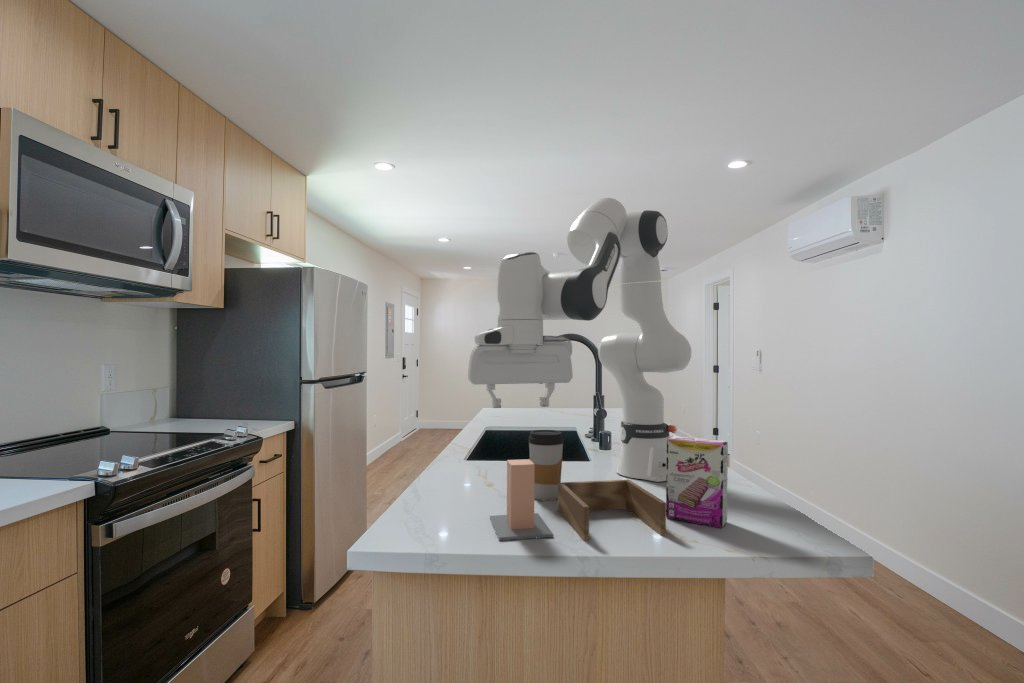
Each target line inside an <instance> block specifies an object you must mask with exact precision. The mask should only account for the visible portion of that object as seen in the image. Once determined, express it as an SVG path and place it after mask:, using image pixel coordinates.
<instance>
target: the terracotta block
mask: <svg viewBox="0 0 1024 683" xmlns="http://www.w3.org/2000/svg"><path fill="white" fill-rule="evenodd" d="M534 471H535V464H534V463H533V462H532V461H531V460H530V458H528V459H525V458H524V459H506V515H507V523H508V525H509V527H510V528H511V529H523V528H534V513H535V498H534Z"/></svg>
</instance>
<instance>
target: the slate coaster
mask: <svg viewBox="0 0 1024 683" xmlns="http://www.w3.org/2000/svg"><path fill="white" fill-rule="evenodd" d="M489 520H491V521H490V522H492V523H491V525H492V528H493V529H495V530H494V532H495V531H496V532H495V534H496V537H497V536H498V537H497V539H498V541H499V540H503V541H512V540H511V539H518V540H526V539H525V538H534V539H543V537H549V538H554V533H553V532H552V530H551V529H550V528H549V526H548V525H547V523H546V522H545V521H544V519H542V517H541V516H540V514H539V513H538V512H534V528H523V529H511V528H510V527H509V525H508V523H507V514H499V515H489ZM536 537H537V538H536ZM541 537H542V538H541Z"/></svg>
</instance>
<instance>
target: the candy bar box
mask: <svg viewBox="0 0 1024 683" xmlns="http://www.w3.org/2000/svg"><path fill="white" fill-rule="evenodd" d="M728 453H729V443H728V441H726V440H718V439H709V438H701V437H700V438H699V437H690V436H683V435H672V436H670V438H668V439H667V476H666V481H665V483H666V486H665V487H666V488H665V489H666V490H665V493H666V494H665V498H666V499H665V502H666V519H667V518H668V519H670V520H671V519H672V520H677V521H683V522H688V523H693V524H697V525H703V526H708V527H714V528H718V529H719V528H721V529H723V528H724V526H725V525H726V523H727V522H728V467H729V466H728V464H729V463H728V462H729V461H728V460H729V458H728V457H729V456H728V455H729V454H728Z"/></svg>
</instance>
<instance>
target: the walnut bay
mask: <svg viewBox="0 0 1024 683" xmlns="http://www.w3.org/2000/svg"><path fill="white" fill-rule="evenodd" d="M605 510H606V511H609V510H610V511H612V510H627V511H629V513H631V514H633V515H634V516H635V517H636V518H637V519H639V520H640V521H642V522H643V523H644V524H645V525H647V526H648V527H649V528H651V529H652V530H653V531H654V532H656V533H657V534H659V535H660V536H667V534H666V533H667V518H666V501H665V500H662V499H661V498H659V497H658V496H656V495H655V494H653V493H651V492H650V491H648V490H647V489H645V488H643V487H641V485H638V483H635V482H634V481H632V480H631V479H614V480H613V479H611V480H610V479H609V480H589V481H568V482H565V481H564V482H561V483H558V498H557V511H558V513H559V515H561V516H562V518H563V519H564V520H565V521H566V522H567V523H568V525H570V527H571V528H572V529H573V530H574V531H575V532H576V534H577V535H578V537H580V538H581V539H582V540H584V541H590V512H594V511H605Z"/></svg>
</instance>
